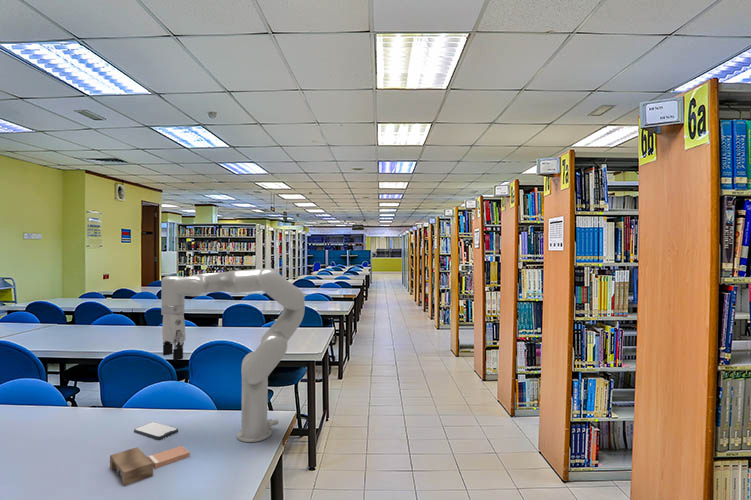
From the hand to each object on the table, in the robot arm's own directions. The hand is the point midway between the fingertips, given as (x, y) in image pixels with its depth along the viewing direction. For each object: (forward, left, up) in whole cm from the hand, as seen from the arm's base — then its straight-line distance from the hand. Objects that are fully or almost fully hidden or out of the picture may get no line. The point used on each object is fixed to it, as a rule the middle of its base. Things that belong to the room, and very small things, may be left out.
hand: (172, 357), depth 151 cm
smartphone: (0, -16, -32) cm, 36 cm away
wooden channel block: (+16, +10, -32) cm, 37 cm away
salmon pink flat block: (+5, +10, -32) cm, 34 cm away
